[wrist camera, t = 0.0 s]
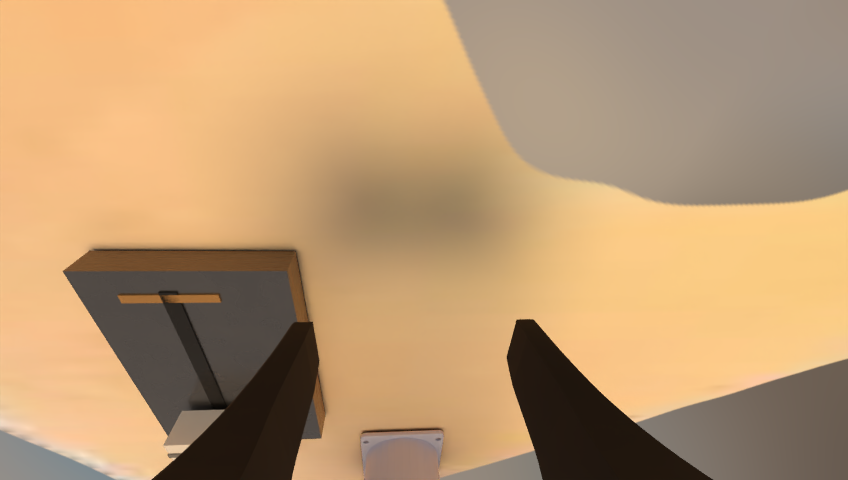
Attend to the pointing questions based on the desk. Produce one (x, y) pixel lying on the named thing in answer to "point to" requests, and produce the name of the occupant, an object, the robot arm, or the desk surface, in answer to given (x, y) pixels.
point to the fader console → (193, 322)
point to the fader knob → (188, 430)
